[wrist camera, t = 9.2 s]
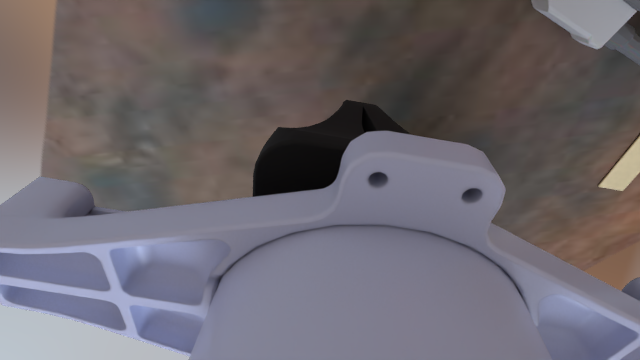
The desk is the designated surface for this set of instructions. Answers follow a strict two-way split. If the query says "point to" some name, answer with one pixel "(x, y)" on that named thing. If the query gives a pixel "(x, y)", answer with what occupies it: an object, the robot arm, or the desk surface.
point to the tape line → (624, 169)
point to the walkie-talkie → (596, 22)
